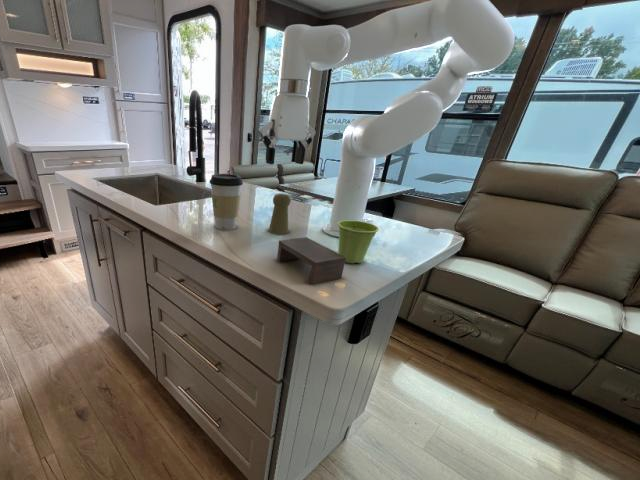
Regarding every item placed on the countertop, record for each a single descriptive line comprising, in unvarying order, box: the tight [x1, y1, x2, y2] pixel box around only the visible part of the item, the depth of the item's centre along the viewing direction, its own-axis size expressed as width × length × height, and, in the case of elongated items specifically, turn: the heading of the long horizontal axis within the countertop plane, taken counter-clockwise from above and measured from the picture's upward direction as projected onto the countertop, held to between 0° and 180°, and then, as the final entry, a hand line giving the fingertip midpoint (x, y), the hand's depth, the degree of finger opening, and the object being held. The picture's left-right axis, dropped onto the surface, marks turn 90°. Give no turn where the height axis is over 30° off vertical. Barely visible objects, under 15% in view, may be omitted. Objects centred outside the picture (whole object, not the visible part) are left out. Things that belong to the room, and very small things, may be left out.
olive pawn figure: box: [268, 193, 292, 235], centre depth 95 cm, size 6×6×11 cm
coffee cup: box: [209, 173, 244, 231], centre depth 95 cm, size 10×10×15 cm
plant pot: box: [337, 220, 380, 264], centre depth 77 cm, size 9×9×9 cm
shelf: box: [276, 236, 346, 285], centre depth 72 cm, size 8×14×5 cm, turn 26°
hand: (284, 163), depth 88 cm, fingers open, 9 cm apart
